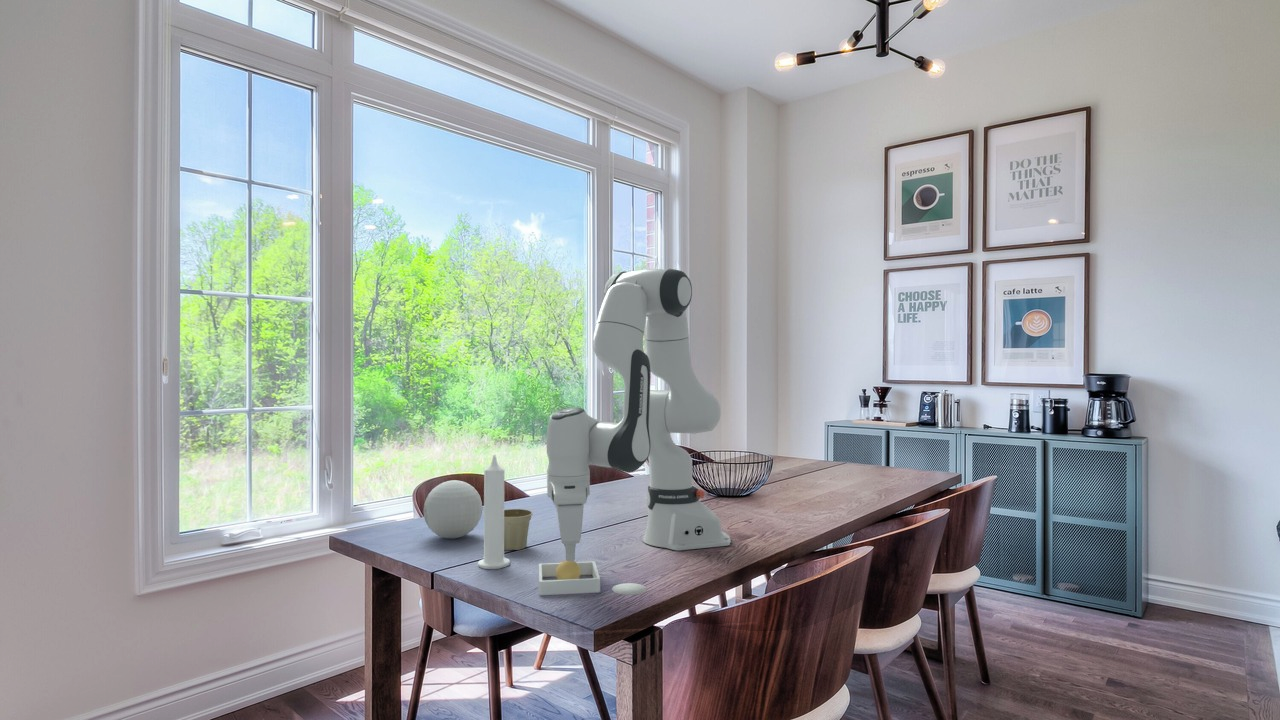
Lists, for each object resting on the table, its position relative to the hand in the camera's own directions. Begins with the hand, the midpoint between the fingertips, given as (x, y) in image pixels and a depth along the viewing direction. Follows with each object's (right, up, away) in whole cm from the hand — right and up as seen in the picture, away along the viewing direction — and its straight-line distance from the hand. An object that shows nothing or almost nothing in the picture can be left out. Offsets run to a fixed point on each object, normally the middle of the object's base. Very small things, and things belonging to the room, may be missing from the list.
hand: (569, 553), depth 138 cm
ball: (0, -6, -1) cm, 6 cm away
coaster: (+13, -6, -4) cm, 15 cm away
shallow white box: (0, -6, -1) cm, 7 cm away
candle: (-19, -7, +13) cm, 24 cm away
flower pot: (-17, -7, +28) cm, 33 cm away
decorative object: (-35, -7, +37) cm, 51 cm away
